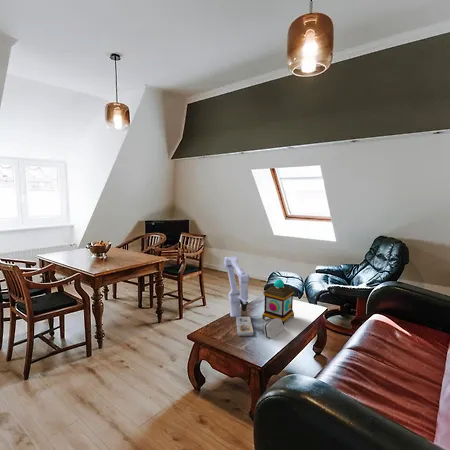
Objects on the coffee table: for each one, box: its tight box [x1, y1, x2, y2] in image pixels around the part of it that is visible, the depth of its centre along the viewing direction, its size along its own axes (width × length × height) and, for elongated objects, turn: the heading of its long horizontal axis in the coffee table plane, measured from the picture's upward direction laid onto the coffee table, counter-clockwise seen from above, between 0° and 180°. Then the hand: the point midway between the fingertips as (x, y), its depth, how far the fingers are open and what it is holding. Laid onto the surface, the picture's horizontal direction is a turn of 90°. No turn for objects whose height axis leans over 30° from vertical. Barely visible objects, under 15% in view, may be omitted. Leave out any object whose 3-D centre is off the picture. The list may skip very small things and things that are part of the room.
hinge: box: [262, 319, 287, 340], centre depth 197 cm, size 17×5×10 cm, turn 132°
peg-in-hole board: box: [235, 316, 254, 337], centre depth 205 cm, size 22×10×3 cm, turn 1°
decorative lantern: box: [261, 278, 295, 326], centre depth 216 cm, size 20×20×30 cm
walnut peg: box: [240, 305, 248, 316], centre depth 209 cm, size 4×4×8 cm
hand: (243, 309), depth 209 cm, fingers closed on walnut peg, 4 cm apart
